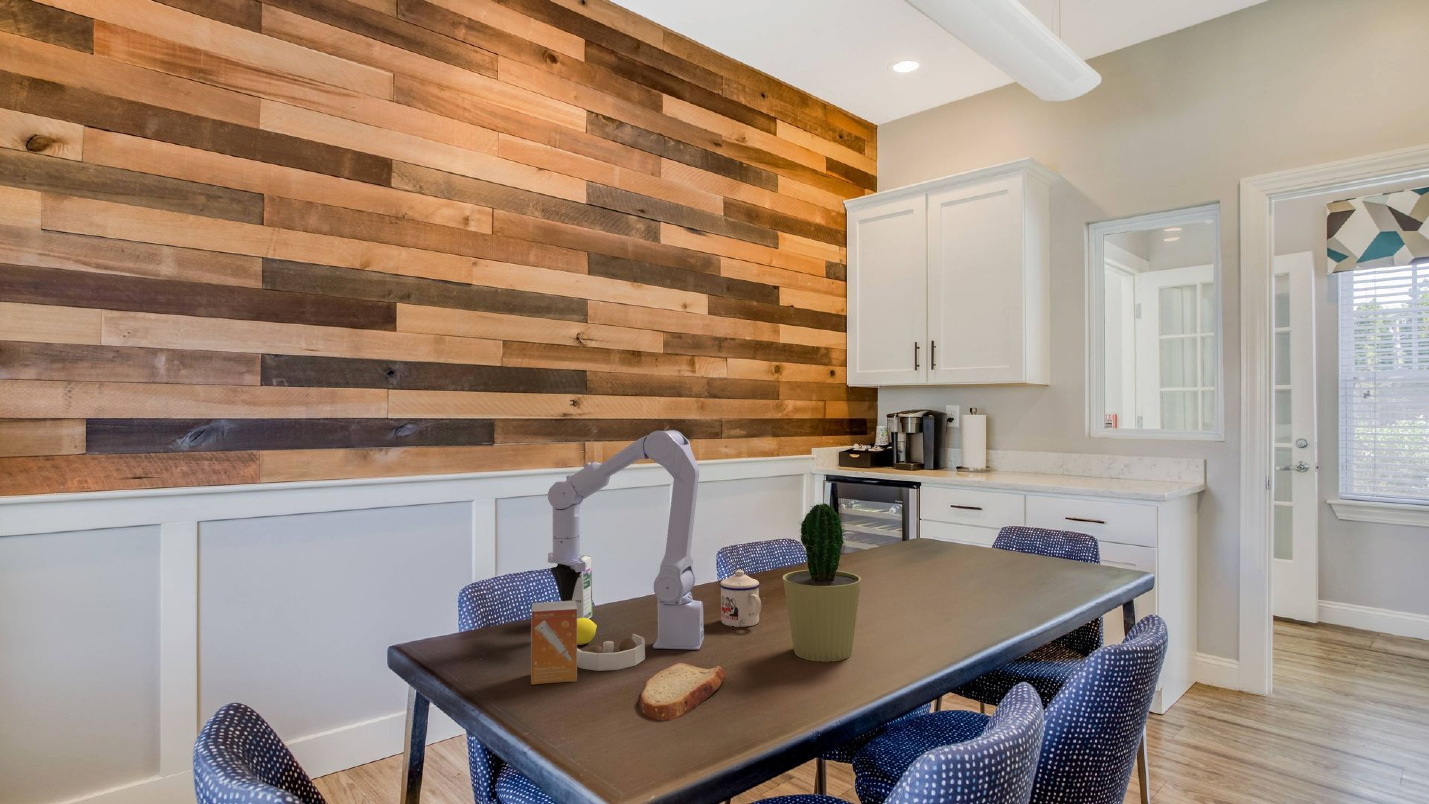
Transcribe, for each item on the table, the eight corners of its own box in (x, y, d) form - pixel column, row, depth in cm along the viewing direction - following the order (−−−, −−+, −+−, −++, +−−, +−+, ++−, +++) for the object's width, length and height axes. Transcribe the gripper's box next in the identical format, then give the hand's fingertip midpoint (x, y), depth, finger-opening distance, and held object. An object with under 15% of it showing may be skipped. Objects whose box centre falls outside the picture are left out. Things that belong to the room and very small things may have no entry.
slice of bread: (652, 725, 112) (652, 701, 112) (618, 687, 129) (618, 665, 129) (757, 706, 120) (756, 683, 120) (712, 671, 136) (712, 651, 136)
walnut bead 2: (637, 653, 146) (637, 636, 146) (634, 659, 142) (633, 641, 142) (621, 653, 146) (620, 635, 146) (616, 658, 143) (616, 641, 143)
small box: (530, 685, 129) (530, 611, 129) (531, 673, 135) (531, 602, 135) (577, 681, 131) (577, 608, 131) (576, 669, 137) (576, 599, 137)
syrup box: (583, 623, 167) (583, 559, 168) (559, 622, 169) (559, 559, 169) (592, 617, 173) (592, 555, 173) (569, 616, 174) (568, 554, 174)
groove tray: (657, 651, 147) (657, 636, 147) (621, 674, 134) (621, 657, 134) (605, 644, 152) (605, 630, 152) (565, 666, 139) (565, 650, 139)
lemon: (572, 652, 149) (568, 626, 148) (562, 645, 153) (558, 620, 153) (603, 641, 152) (600, 616, 152) (593, 635, 157) (589, 610, 157)
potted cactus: (815, 636, 156) (813, 494, 157) (877, 651, 145) (875, 499, 146) (767, 652, 146) (765, 500, 146) (830, 671, 135) (828, 507, 135)
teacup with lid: (712, 621, 169) (711, 570, 169) (744, 614, 174) (743, 565, 174) (743, 633, 159) (742, 579, 159) (776, 626, 164) (775, 573, 164)
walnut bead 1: (606, 660, 142) (606, 643, 142) (601, 666, 138) (601, 648, 138) (589, 660, 142) (589, 642, 142) (584, 666, 139) (584, 648, 139)
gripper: (535, 534, 162) (535, 596, 162) (563, 543, 150) (563, 610, 150) (564, 531, 166) (565, 591, 166) (594, 539, 155) (594, 604, 154)
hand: (566, 600), depth 158 cm, fingers closed
